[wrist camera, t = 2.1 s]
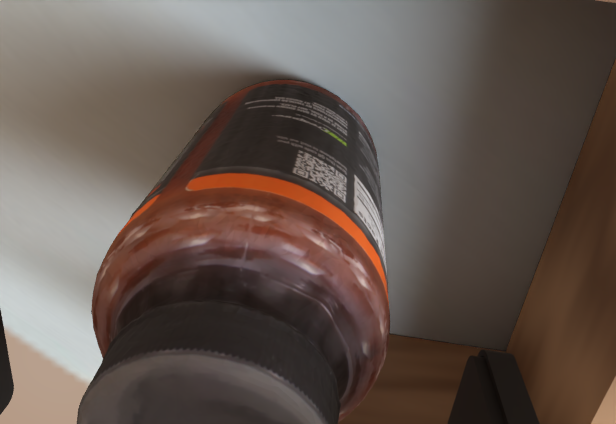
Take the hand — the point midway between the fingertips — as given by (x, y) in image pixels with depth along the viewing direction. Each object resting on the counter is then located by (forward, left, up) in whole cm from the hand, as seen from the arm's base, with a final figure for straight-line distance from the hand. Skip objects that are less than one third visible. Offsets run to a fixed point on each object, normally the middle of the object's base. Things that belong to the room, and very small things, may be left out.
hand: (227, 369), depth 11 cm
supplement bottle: (-1, 0, -9) cm, 9 cm away
